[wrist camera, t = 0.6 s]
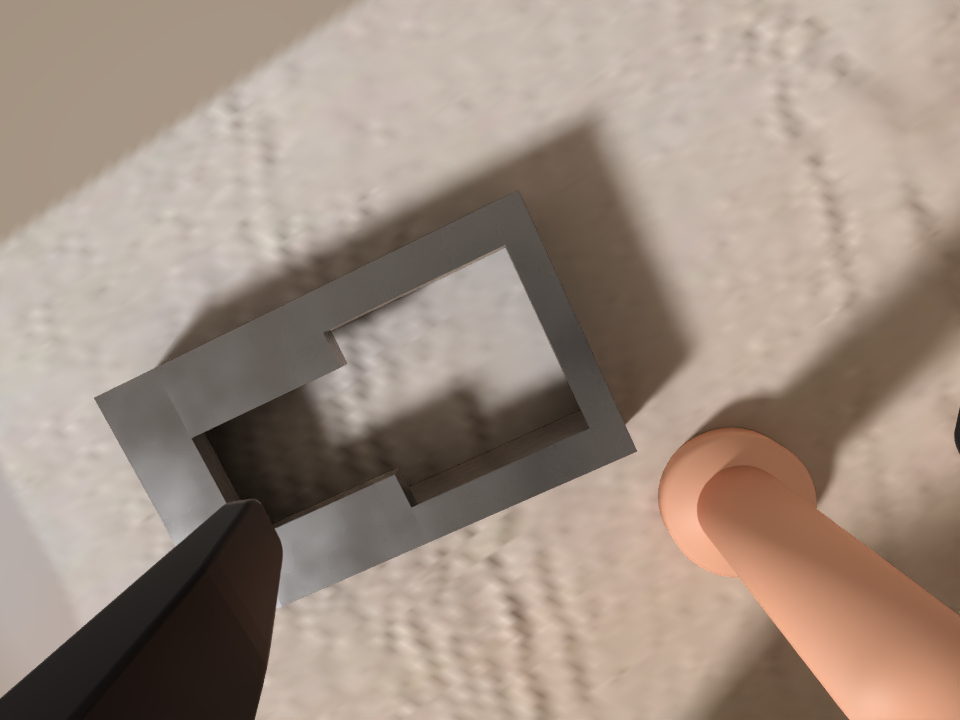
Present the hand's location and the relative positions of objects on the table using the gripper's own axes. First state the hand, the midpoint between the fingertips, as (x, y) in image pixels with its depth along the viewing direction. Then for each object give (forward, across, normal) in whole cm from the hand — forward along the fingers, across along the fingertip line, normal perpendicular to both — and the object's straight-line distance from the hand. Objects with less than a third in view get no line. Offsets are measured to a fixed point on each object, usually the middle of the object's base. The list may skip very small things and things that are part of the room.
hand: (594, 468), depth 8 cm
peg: (+14, -6, +15) cm, 21 cm away
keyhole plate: (+16, +8, +9) cm, 20 cm away
